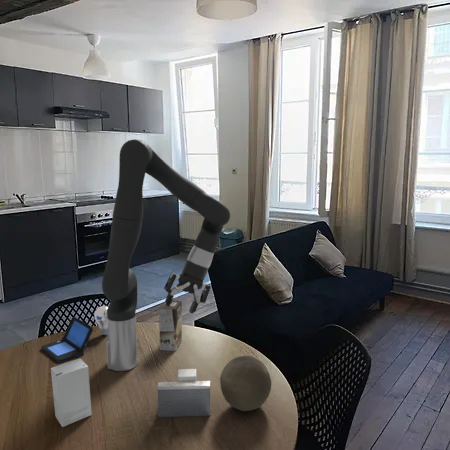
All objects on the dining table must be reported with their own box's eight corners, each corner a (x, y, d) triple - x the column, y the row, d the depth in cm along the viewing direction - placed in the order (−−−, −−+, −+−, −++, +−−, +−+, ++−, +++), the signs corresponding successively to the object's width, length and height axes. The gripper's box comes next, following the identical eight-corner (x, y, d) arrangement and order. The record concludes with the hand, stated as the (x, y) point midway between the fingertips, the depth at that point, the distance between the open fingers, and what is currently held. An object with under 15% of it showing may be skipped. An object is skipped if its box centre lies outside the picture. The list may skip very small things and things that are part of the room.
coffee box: (176, 351, 147) (175, 309, 145) (159, 350, 148) (158, 308, 146) (182, 340, 156) (181, 300, 154) (166, 339, 157) (165, 299, 155)
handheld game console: (40, 349, 149) (38, 325, 148) (75, 338, 159) (73, 315, 157) (59, 364, 138) (57, 338, 137) (95, 351, 148) (93, 327, 147)
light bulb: (117, 333, 163) (116, 304, 161) (105, 340, 156) (104, 310, 154) (103, 330, 165) (102, 302, 164) (91, 337, 159) (90, 307, 157)
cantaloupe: (221, 394, 120) (221, 346, 118) (269, 395, 120) (270, 347, 118) (219, 425, 107) (218, 371, 104) (273, 426, 106) (274, 372, 104)
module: (178, 410, 113) (178, 376, 111) (179, 401, 117) (178, 369, 115) (196, 409, 113) (196, 376, 112) (196, 401, 117) (196, 368, 115)
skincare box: (84, 406, 115) (81, 356, 112) (92, 416, 110) (89, 365, 108) (53, 417, 109) (49, 366, 107) (60, 429, 105) (57, 375, 103)
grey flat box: (158, 417, 110) (157, 387, 108) (159, 411, 112) (158, 382, 111) (210, 415, 110) (210, 385, 109) (210, 410, 113) (210, 380, 111)
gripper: (212, 266, 137) (194, 310, 137) (175, 252, 131) (156, 299, 131) (221, 272, 130) (202, 319, 130) (182, 258, 124) (162, 307, 124)
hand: (179, 309), depth 130 cm, fingers open, 8 cm apart
